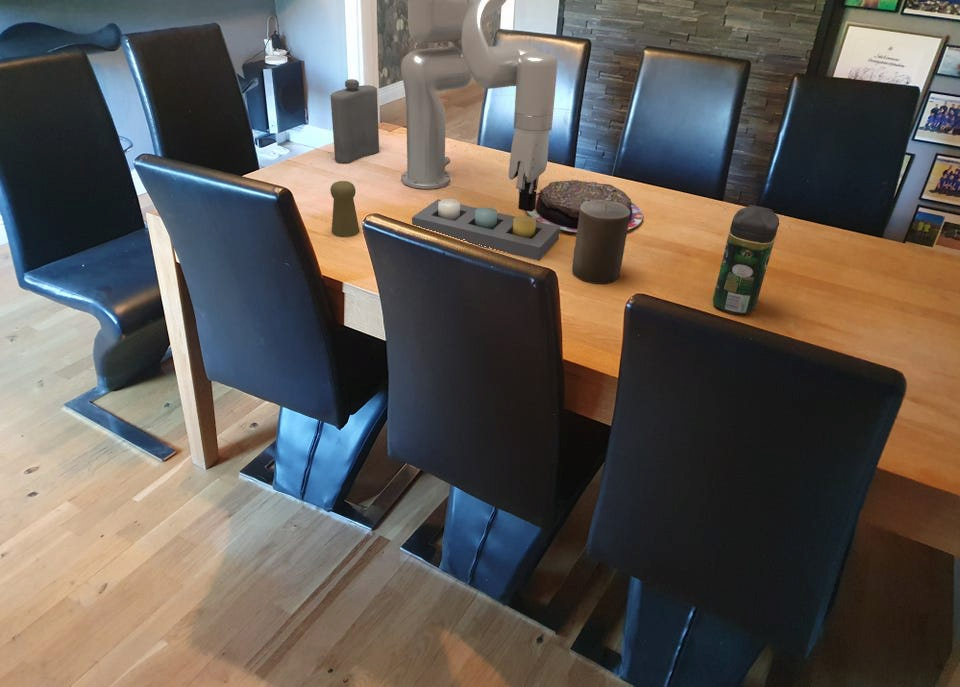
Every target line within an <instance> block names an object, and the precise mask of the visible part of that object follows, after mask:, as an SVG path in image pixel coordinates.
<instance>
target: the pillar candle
mask: <svg viewBox="0 0 960 687" xmlns="http://www.w3.org/2000/svg"><path fill="white" fill-rule="evenodd" d="M629 217H630V210H629V209H628V208H627V207H626V206H624V205H622V204H619V203H616V202H610V201H603V200H597V201H588V202H583V204H582V205H581V207H580V213H579V221H578V228H577V234H575V236H576V237H575V243H574V249H573V258H572V266H571V271H572V274H573V275H574V276H575V277H576V278H578V279H579V280H582V281H583V282H587V283H593V284H610V283H613V282H616V281H617V280H618V279H619V278H620V275H621V270H622V263H623V258H624V252H625V246H626V241H627V234H628V231H627V229H628V224H629Z"/></svg>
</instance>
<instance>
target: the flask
mask: <svg viewBox="0 0 960 687" xmlns="http://www.w3.org/2000/svg"><path fill="white" fill-rule="evenodd" d="M344 87H345V88H342V89H338V90H336V91H334V92H332V93H331V94H330V95H329V96H330V107H331V109H330V110H331V122H332V133H333V134H332V135H333V136H332V137H333V147H334V148H333V149H334V152H333V153H334V160H335V162H336V163H338V164H344V165H345V164H351V163H353V162H354V161H357V160H360V159H362V158H364V157H368V156H372V155H377V154H378V153H379V152H380V137H379V111H378V110H379V109H378V108H379V106H378V105H379V104H378V88H377V87H376V86H374V85H369V84H368V85H360V82H359V80H357V79H354V78H352V79H351V78H348V79H346V80H345V81H344Z"/></svg>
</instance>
